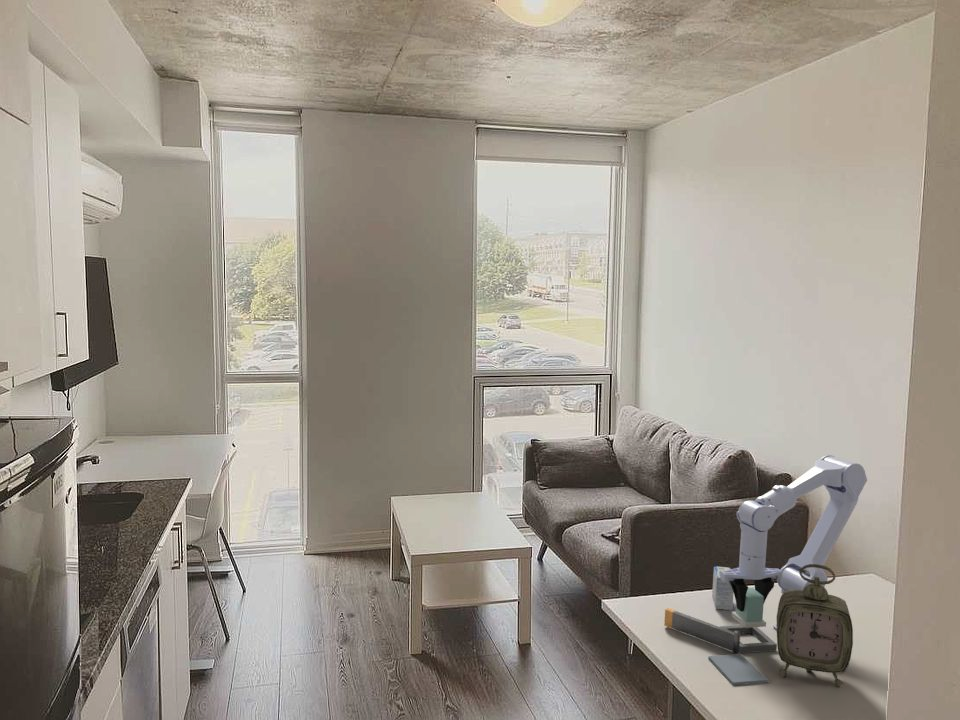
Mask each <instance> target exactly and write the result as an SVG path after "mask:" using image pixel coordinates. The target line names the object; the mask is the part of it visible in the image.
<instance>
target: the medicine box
mask: <svg viewBox="0 0 960 720" xmlns="http://www.w3.org/2000/svg"><path fill="white" fill-rule="evenodd" d="M731 569H732V568H731V567H726V566H714V567H713V572H712V573H713V574H712V594H711V595H712V597H711V598H712V601H713V603H714V608H716V610H721V609H724V611H731V610H732V611H733V608H734V592H733V589H732V587H731V585H730V583H729V581H728V582H723V581H722V580H721V579H720V577H721V571H727V570H731Z"/></svg>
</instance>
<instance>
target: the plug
mask: <svg viewBox="0 0 960 720" xmlns="http://www.w3.org/2000/svg"><path fill="white" fill-rule="evenodd" d="M763 604H764V605H765V602H764V596H763V595H761V594H760V593H759V592H758V591H756V590H755V587H748V590H747V593H746V597H745V607H744V611H740V610H739V609H737V605H736V604H735V611H731V616H732V617H733V618H734V619H735V620H736V621H737V622H738V623H739V625H742V626H744V627H745V628H750V627H758V628H762V627H763V628H764V627H767V622H766V620H765V619H763V617H764V616H763V615H764V605H763Z"/></svg>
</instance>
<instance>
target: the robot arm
mask: <svg viewBox="0 0 960 720" xmlns="http://www.w3.org/2000/svg"><path fill="white" fill-rule="evenodd" d="M867 482H868V478H867V475H866V470H865V468H864V467H863V465H861V464H859V463H857V462H856V463H855V462H851V461H848V460H844V459H842V458H839V457H836V456H834V455H830V454H827V455H824V456H821V458H820V459H817V460H815V461H814V463H813V467H812V468H810V469H809V470H807V471H806V472H805V473H804V474H802V475H801V476H799V477H798V478H797V479H795V480H794V481H792V482H791V483H790V484H789V485H787V486H786V485H781V484H780V485H778V484H776V485H774V486H772V489H771V490H769V491H767V492H766V493H764V494H763V495H761V496H758V497H756V499H755V500H746V501H744V502H742V503H741V504H740V506H739V508H738V511H736V514H735V515H736V518H737V520H738V521H739V529H740V530H741V531H740V545H739V558H738V559H739V561H738V567H735V568H731V570H727V571H721V577H720V579H721V580H722V581H723V582H728V581H729V583H730V585H731V587H732V589H733V596H734V599H735V606H736V605H737V609H739V610H740V611H744V607H745V597H746V593H747V590H748V588H749V586H748V585H746V582H745V581H748V580H749V581H750V580H751V581H753V582H754V583H753V585H754V589H755V590H756V591H758V592H759V593H760V594H761V595H763V596H764V604H763V606H764V605H765V603H766V599H767V598H768V595H769V594H770V592H771V591H772V590H773V589H774V588H775V582H774V581H773V580H772V579H776V582H777V583H776V584H777V585H778V586H779V587H780V590H781V591H780V592H781V595H782V594H783V592H784V591H788V590H804V588H805V587H806V586H807V585H809V584H813V583H810V582H807V581H805V580H804V579H803V578H802V577H801V576H800V573H799V572H800V569H801V568H802V567H803V566H805V565H808V564H818V565H823V566H825V564H826V562H827V560H828V558H829V556H830V554H831V552H832V550H833V549H834V547H835V545H836V543H837V541H838V539H839V538H840V536H841V534H842V532H843V530H844V528H845V526H846V524H847V523H848V521H849V519H850V517H851V516H852V513H853V511H854V509H855V508H856V506H857V504H858V502H859V496H860V494H861V493H862V492H863V491H862V490H863V489H864V487H865V485H866V483H867ZM822 486H824V487H825V489H826V490H827V491H828V494H829V497H830V499H829V501H828V503H827V505H826V506H825V509H824V510H823V512H822V513H821V516H820V518H819V520H818V521H817V523H816V525H815V527H814V529H813V531H812V533H811V534H810V536H809V538H808V539H807V541H806V544H805V546H804V548H803V550H802V551H801V553H800V554H799V555H796V556H793V557H790V558H789V559H788V561H787V562H786V563H785V565H784V566H782V567H781V568H780V569H779V568H770V567H766V561H767V560H766V559H767V545H768V544H767V542H768V531H769V530H770V529H771V528H772V527H773V526H774V524H775V521H776V520H777V519H778V517H780V516H781V515H783V514H784V513H786V512H787V511H789V510H791V509H792V508H794V507H795V506H796V504H797V500H798V499H799V498H801V497H803V496H804V495H807V494H808V493H810V492H813V491H815V490H816V489H818V488H820V487H822ZM807 572H808V573H807ZM802 575H803V576H804V577H805V578H808V579H810V580H814V578H815V577H818V578H819V579H820V580H819V581H829V580H828V576H827V574H826V572H825V569H822V568H816V567H809V568H806V569H804V570H803V571H802ZM819 585H820V584H819ZM821 586H823V587H824V588H825V587H826V584H825V585H821ZM772 626H773V628H774V629H775V630H776V631H777V624H773V625H772Z"/></svg>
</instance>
